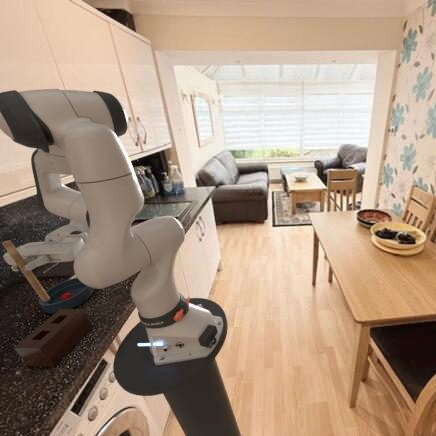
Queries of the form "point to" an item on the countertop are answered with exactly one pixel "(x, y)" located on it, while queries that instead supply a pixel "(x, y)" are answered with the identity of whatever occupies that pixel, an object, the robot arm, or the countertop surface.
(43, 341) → the utensil block
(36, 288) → the stirring stick
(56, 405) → the countertop surface
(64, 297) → the cherry tomato
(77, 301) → the bowl
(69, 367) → the countertop surface
